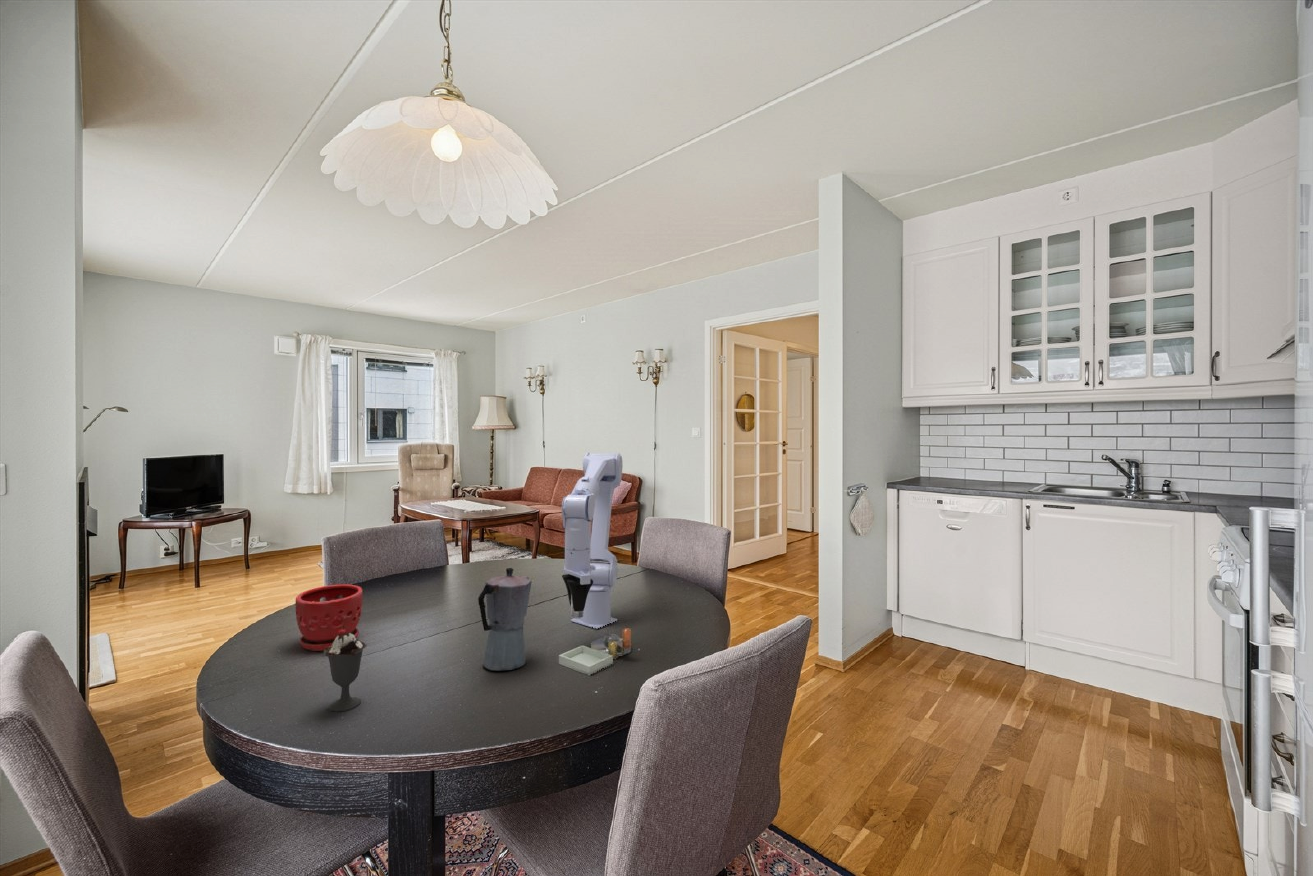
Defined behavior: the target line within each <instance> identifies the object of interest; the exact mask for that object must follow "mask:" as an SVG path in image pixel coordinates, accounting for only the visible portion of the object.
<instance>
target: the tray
mask: <svg viewBox="0 0 1313 876" xmlns="http://www.w3.org/2000/svg"><path fill="white" fill-rule="evenodd" d="M558 664H559V665H560V666H564V667H566V668H568V669H571V670H573V671H576V672H579V673H581V674H583V675H586V674H587V676H589V677H590V676H591V674H592V675H593V673H594V674H595V673H597V671H598V672H600V671H602V670H603V669H602V668H604V669H606V668H608V667H610V666H611V665H610V664H612V665H613V664H614V660H613V656H612V655H609V654H606V653H603V652H601V651H598V650H595V649H592V648H591V647H589V646H586V645H583V644H582V645H580V646H578V647H575V648H573V649H570V650H568V651H566V652H564V653H561V654H559V655H558ZM609 665H610V666H609ZM607 666H608V667H607ZM605 667H606V668H605ZM601 669H602V670H601ZM599 670H600V671H599Z"/></svg>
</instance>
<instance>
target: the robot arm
mask: <svg viewBox="0 0 1313 876" xmlns="http://www.w3.org/2000/svg"><path fill="white" fill-rule="evenodd" d="M582 470H583V474H584V476H582V477H580V478H579V479H578V480H577V482H576V483H575V485H574V488H573V489H572V492H571V493H570V494H567V495H566V496H564V497H563V499H562V502H561V503H562V504H561V517H562V526H563V529H564V566H563V573H565V574H562V575H561V578H562V580H563V581H564V584H565V588H566V591H567V595H568V602H569V607H571V595H572V603H573V609H574V611H575V612H577V611H584V614H583V617H581V618H572V619H570V621H571V622H572V623H576V624H579V625H583V626H586V627H589V628H592V627H593V628H592V629H595V628H596V630H598V628H599V629H601V628H604V627H606V626H608V625H607V624H609V623H611V624H614V623H616V622H618V621H617V620H618V618H615V617H612V616H611V612H612V611H611V609H612V608H611V606H612V603H611V602H612V588H614V587H615V586H616V584H617V581H618V559H617V557H616V555H615V554H613V553H612V552H611V551H610V550H609V539H610V529H611V527H610V526H611V516H612V509H613V508H612V505H613V497H614V492H615V489H616V488H618V487H620V486H621V482H622V478H623V477H622V476H623V457H622V455H621V453H618V452H617V453H593V452H592V453H590V452H586V453H585V455H584V456H583V459H582ZM615 621H616V622H615ZM613 622H614V623H613ZM605 625H606V626H605ZM609 625H610V624H609ZM603 626H604V627H603ZM600 627H601V628H600Z"/></svg>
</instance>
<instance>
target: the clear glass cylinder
mask: <svg viewBox="0 0 1313 876" xmlns="http://www.w3.org/2000/svg"><path fill="white" fill-rule="evenodd" d="M583 614H584V611H577V612H575V611H574V609H573V603H572V595H571V606H570V617H571V618H572V619H573V618H581V617H583Z"/></svg>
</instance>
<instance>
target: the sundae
mask: <svg viewBox="0 0 1313 876" xmlns="http://www.w3.org/2000/svg"><path fill="white" fill-rule="evenodd" d="M338 621H340V622H341V619H338ZM341 623H342V622H341ZM367 646H368V644H366V643H365V642H363V641H361V640H358V639H357V638H355V636H354V635H353V634H352V633H350V632H347V631H345V630H344V625H343V623H342V629H341V630H339V631H338V636H337V637H336V638H335V640H334V642H333V644H332V646H329V647H326V648H325V649H324V651H323V656H324V657H328V661H329V668H330V675H331V679H332V682H333V683H334V684H336V685H338V686H340V688H341V692H340V693H341V694H340V698H339V699H336V700H335V701H333V702H331V704H329V706H328V709H329V710H330V711H331V712H345V711H350V710H352V709H355V708H356V707H358V706H359V705H360V704H361V703H362V699H361V698H360V697H357V696H351V694H350V685H351V684H352V683H353V682H355V681H356V679H357V678H358V676H359V673H360V668H361V663H362V657H363V656H362V655H363V651H364V649H365V648H367Z"/></svg>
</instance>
